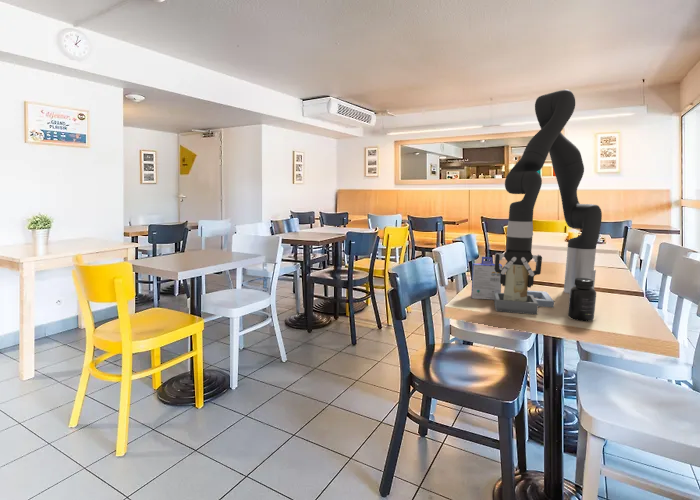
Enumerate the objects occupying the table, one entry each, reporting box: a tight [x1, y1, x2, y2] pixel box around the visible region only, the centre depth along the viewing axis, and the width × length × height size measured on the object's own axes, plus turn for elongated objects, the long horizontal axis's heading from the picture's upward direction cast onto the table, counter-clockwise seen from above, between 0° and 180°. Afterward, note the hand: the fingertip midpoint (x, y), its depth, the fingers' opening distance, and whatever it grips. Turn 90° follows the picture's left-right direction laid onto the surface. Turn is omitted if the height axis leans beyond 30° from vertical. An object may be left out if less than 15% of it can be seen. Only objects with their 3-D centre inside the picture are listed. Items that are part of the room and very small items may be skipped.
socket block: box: [527, 289, 555, 308], centre depth 143 cm, size 13×14×2 cm
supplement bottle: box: [567, 278, 597, 322], centre depth 122 cm, size 7×7×12 cm
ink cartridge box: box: [470, 256, 503, 301], centre depth 145 cm, size 10×6×14 cm, turn 79°
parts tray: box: [493, 292, 539, 315], centre depth 133 cm, size 12×11×4 cm
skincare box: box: [503, 263, 531, 302], centre depth 132 cm, size 6×4×12 cm
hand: (516, 286), depth 132 cm, fingers closed on skincare box, 7 cm apart
